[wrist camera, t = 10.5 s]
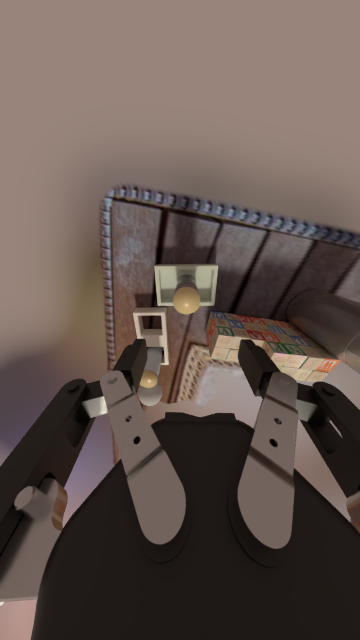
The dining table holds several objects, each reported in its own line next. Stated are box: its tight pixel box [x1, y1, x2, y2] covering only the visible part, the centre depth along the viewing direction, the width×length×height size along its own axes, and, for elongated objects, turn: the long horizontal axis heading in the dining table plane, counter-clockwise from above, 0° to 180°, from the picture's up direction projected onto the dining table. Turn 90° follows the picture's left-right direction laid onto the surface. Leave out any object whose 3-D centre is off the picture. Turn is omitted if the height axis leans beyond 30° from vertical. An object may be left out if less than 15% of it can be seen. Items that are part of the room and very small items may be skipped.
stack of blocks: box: [205, 311, 340, 382], centre depth 32 cm, size 21×6×12 cm, turn 81°
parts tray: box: [154, 264, 218, 306], centre depth 31 cm, size 12×8×3 cm, turn 91°
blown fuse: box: [173, 275, 200, 314], centre depth 27 cm, size 4×4×11 cm
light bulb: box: [139, 375, 162, 406], centre depth 40 cm, size 6×6×10 cm
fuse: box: [140, 347, 163, 388], centre depth 35 cm, size 4×4×11 cm
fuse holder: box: [133, 307, 169, 365], centre depth 37 cm, size 7×15×3 cm, turn 1°
